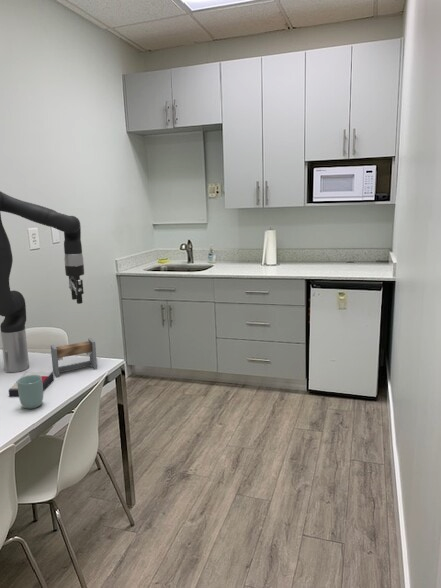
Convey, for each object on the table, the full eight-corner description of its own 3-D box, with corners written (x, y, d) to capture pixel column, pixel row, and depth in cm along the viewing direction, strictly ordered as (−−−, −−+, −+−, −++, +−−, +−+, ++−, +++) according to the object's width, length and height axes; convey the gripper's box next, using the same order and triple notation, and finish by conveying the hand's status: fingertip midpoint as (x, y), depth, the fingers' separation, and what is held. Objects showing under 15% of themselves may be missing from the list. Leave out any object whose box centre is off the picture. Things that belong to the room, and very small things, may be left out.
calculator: (7, 388, 159) (25, 370, 173) (9, 399, 160) (26, 380, 174) (37, 388, 159) (53, 370, 173) (39, 399, 160) (54, 380, 174)
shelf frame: (56, 377, 176) (53, 349, 174) (53, 372, 181) (50, 345, 179) (97, 368, 185) (95, 341, 183) (92, 364, 190) (90, 338, 187)
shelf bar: (58, 358, 176) (57, 349, 176) (55, 355, 180) (55, 347, 179) (91, 351, 184) (90, 343, 183) (88, 349, 187) (87, 341, 186)
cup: (48, 401, 156) (45, 375, 154) (37, 411, 148) (34, 384, 146) (27, 400, 157) (24, 374, 154) (15, 410, 149) (12, 383, 147)
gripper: (61, 262, 188) (64, 299, 192) (69, 267, 176) (72, 306, 180) (79, 261, 192) (81, 297, 195) (87, 265, 180) (90, 303, 184)
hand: (77, 301), depth 188 cm, fingers open, 8 cm apart
